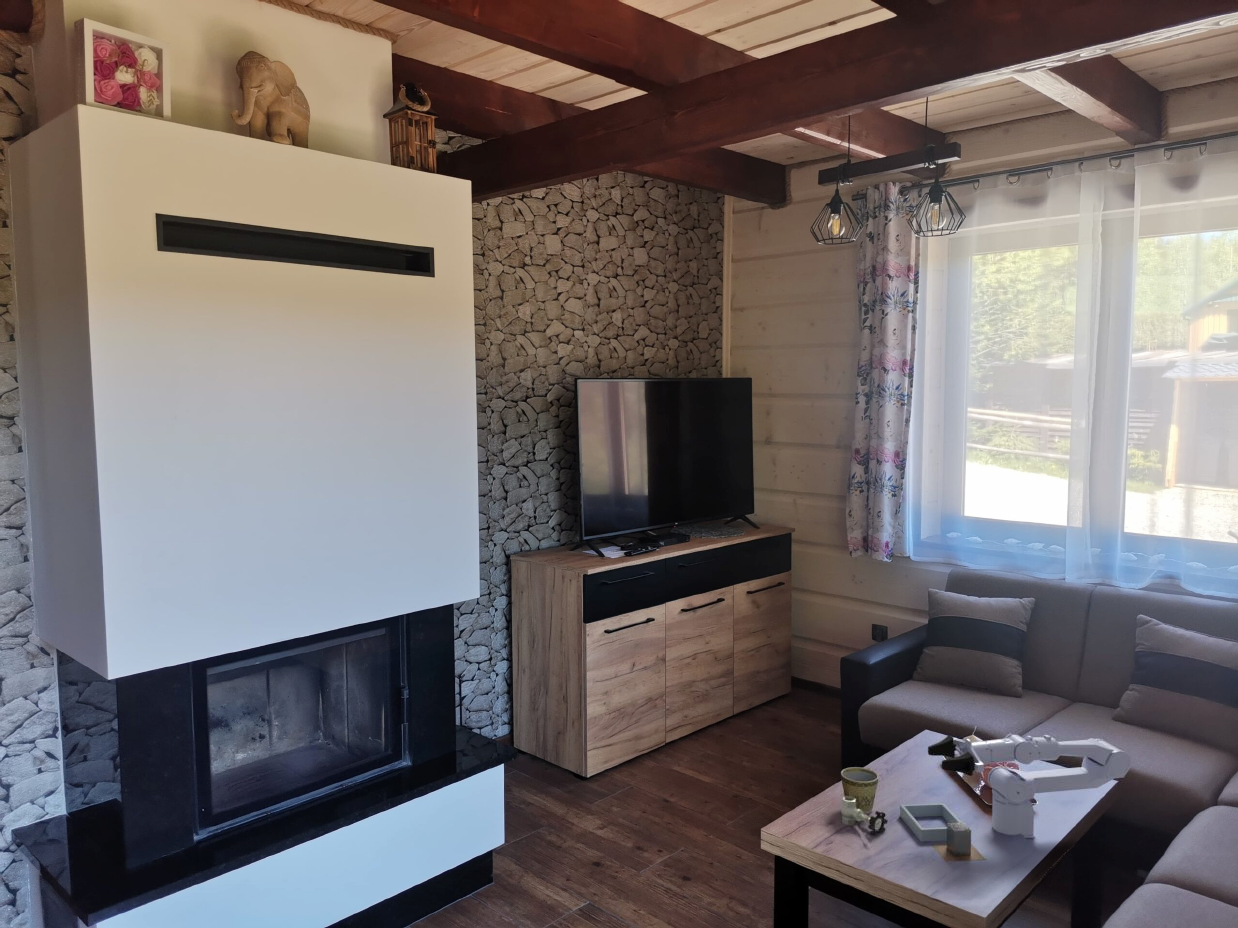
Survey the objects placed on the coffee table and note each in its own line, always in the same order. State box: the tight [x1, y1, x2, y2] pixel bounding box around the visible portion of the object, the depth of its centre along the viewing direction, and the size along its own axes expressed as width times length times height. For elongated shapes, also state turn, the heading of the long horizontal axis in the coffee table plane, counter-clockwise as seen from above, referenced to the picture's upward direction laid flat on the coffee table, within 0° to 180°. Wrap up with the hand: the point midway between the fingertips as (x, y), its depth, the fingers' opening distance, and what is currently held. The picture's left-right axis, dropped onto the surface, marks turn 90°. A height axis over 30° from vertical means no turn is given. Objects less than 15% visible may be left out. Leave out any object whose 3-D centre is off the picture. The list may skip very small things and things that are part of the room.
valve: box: [840, 796, 889, 836], centre depth 230 cm, size 7×7×12 cm
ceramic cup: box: [840, 766, 879, 816], centre depth 241 cm, size 13×10×10 cm
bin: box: [899, 802, 962, 842], centre depth 228 cm, size 12×14×4 cm
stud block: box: [932, 843, 987, 862], centre depth 215 cm, size 10×8×4 cm
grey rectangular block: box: [946, 821, 972, 857], centre depth 215 cm, size 4×4×6 cm
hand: (935, 757), depth 223 cm, fingers open, 7 cm apart
